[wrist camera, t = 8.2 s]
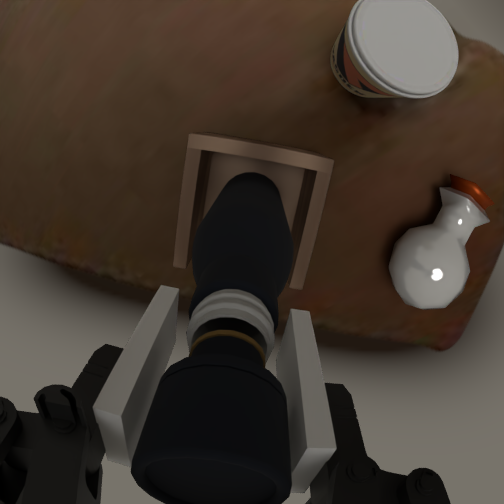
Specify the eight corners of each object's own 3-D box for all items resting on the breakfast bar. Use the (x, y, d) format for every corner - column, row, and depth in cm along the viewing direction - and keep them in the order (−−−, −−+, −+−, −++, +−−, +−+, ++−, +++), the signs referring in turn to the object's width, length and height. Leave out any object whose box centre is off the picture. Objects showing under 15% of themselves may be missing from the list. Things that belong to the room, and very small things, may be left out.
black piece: (293, 202, 34) (395, 482, 6) (250, 242, 36) (221, 540, 8) (250, 159, 32) (181, 352, 4) (207, 201, 34) (47, 456, 6)
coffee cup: (304, 46, 28) (325, 8, 17) (373, 14, 26) (418, -26, 15) (352, 120, 31) (396, 117, 20) (418, 84, 29) (479, 73, 17)
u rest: (190, 239, 36) (173, 266, 29) (205, 132, 32) (189, 133, 25) (295, 257, 37) (301, 289, 30) (319, 153, 32) (334, 160, 25)
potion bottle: (376, 278, 39) (435, 179, 36) (436, 322, 35) (495, 220, 31) (365, 280, 31) (438, 154, 27) (441, 336, 27) (515, 206, 23)
